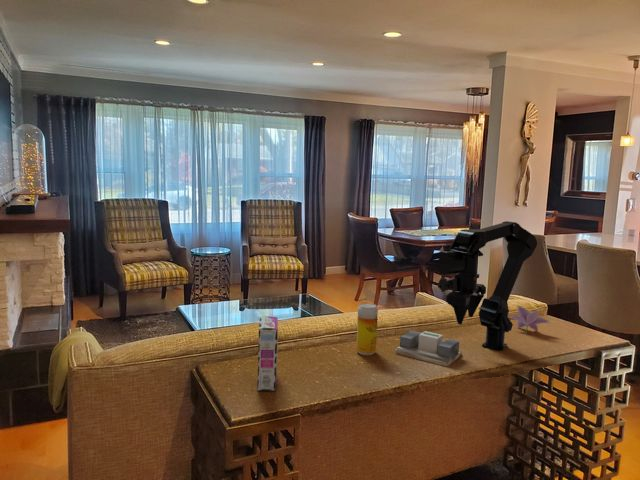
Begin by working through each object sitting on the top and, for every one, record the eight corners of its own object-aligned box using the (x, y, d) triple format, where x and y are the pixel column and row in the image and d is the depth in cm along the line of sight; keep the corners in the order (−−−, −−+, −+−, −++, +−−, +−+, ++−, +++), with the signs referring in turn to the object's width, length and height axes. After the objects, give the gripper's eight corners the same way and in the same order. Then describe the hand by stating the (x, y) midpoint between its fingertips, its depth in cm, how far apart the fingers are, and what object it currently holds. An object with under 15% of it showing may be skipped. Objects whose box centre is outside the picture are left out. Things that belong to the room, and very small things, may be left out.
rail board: (412, 343, 166) (413, 328, 166) (461, 355, 157) (462, 339, 156) (395, 353, 157) (396, 338, 156) (446, 366, 147) (447, 350, 147)
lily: (552, 339, 178) (552, 313, 181) (534, 331, 171) (534, 304, 175) (521, 340, 187) (521, 315, 190) (502, 333, 181) (503, 307, 184)
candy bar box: (277, 391, 128) (278, 328, 125) (257, 391, 127) (257, 328, 125) (277, 374, 139) (277, 315, 136) (258, 374, 138) (259, 315, 136)
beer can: (374, 356, 153) (377, 308, 151) (355, 354, 155) (356, 307, 153) (376, 350, 159) (378, 303, 157) (357, 348, 161) (359, 302, 159)
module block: (424, 346, 161) (424, 330, 160) (442, 350, 158) (443, 334, 157) (418, 350, 157) (419, 333, 157) (436, 354, 154) (437, 337, 153)
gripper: (454, 263, 167) (452, 309, 169) (430, 272, 152) (428, 322, 154) (487, 267, 160) (485, 315, 163) (466, 277, 145) (463, 330, 148)
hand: (465, 320), depth 157 cm, fingers open, 9 cm apart
